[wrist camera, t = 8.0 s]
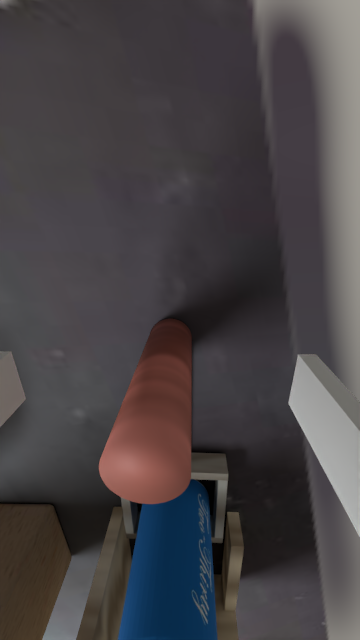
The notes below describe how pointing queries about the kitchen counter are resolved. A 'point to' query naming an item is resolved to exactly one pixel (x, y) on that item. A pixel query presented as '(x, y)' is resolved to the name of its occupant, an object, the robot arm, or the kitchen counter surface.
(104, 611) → the open wooden box
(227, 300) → the kitchen counter surface
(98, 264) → the kitchen counter surface
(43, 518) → the wooden block
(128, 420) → the square frame pulling tool
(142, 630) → the beverage can
